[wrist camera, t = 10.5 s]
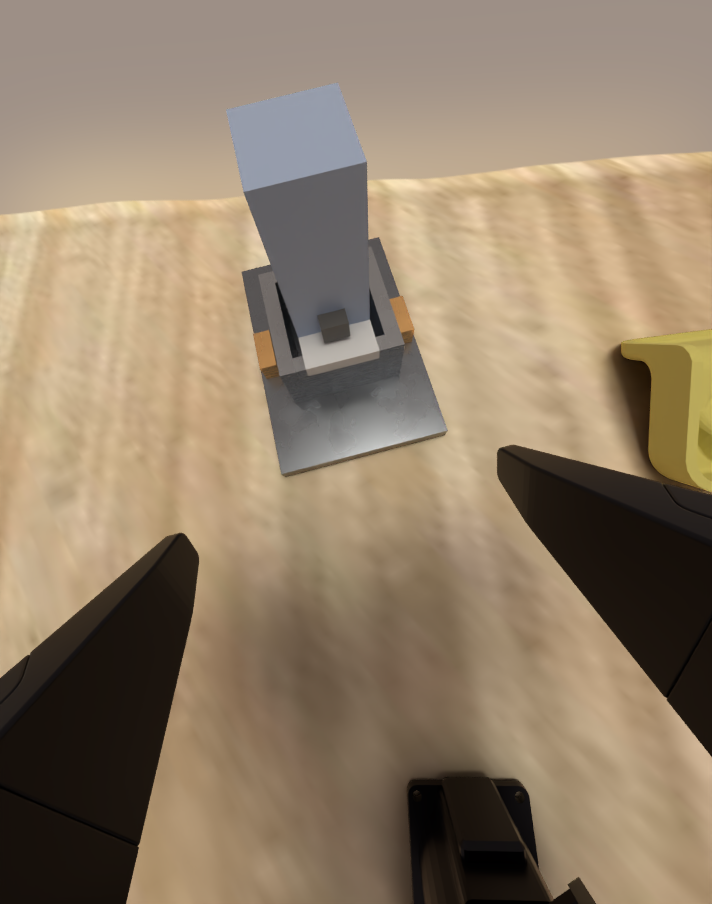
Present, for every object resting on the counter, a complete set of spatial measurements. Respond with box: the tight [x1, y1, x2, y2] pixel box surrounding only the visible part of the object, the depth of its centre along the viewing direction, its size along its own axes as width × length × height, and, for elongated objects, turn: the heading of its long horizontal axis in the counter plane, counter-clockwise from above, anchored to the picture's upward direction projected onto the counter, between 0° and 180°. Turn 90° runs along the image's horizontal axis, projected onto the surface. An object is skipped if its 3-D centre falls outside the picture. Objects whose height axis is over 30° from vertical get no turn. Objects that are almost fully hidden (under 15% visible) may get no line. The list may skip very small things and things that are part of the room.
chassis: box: [242, 237, 448, 477], centre depth 23 cm, size 18×12×5 cm, turn 14°
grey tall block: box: [226, 83, 380, 376], centre depth 18 cm, size 9×4×13 cm, turn 14°
